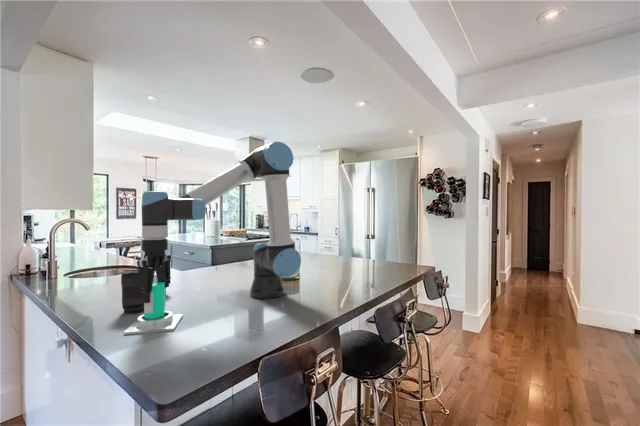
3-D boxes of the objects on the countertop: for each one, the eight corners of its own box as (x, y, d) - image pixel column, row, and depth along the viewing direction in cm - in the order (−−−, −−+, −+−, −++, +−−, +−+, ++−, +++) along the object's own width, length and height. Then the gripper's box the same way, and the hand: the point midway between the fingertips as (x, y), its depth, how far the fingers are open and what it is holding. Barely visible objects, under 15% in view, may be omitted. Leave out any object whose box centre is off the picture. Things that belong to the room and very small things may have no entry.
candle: (169, 314, 104) (168, 277, 105) (153, 319, 99) (153, 281, 99) (156, 311, 107) (155, 276, 107) (139, 317, 101) (139, 279, 101)
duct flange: (182, 316, 112) (182, 307, 112) (173, 330, 98) (173, 321, 98) (139, 319, 108) (139, 310, 108) (123, 334, 95) (123, 324, 95)
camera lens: (123, 309, 120) (123, 270, 120) (147, 306, 123) (147, 268, 123) (119, 315, 113) (119, 273, 113) (145, 312, 116) (145, 272, 116)
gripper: (162, 236, 113) (162, 301, 113) (123, 240, 95) (123, 318, 95) (182, 236, 112) (182, 302, 112) (145, 241, 94) (145, 319, 94)
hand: (155, 309), depth 103 cm, fingers closed on candle, 5 cm apart
